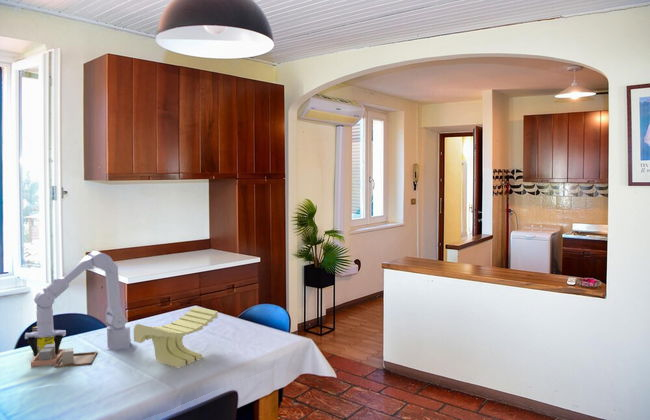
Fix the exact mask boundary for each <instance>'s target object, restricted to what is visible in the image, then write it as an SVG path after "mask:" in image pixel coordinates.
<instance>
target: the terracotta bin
mask: <svg viewBox="0 0 650 420" xmlns="http://www.w3.org/2000/svg"><path fill="white" fill-rule="evenodd" d="M62 349H63V348H59V352H58V354H57V356H56V357H55V358H54V359H53V360H43V361H39V352H38V354H37V356H34V358H33V359H31V361H30V367H31V368H32V367H34V368H35V367H44V366H55V365H56V364H57V363H58V361H59V360H60V359H61V357H62Z"/></svg>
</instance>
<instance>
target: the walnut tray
mask: <svg viewBox="0 0 650 420" xmlns="http://www.w3.org/2000/svg"><path fill="white" fill-rule="evenodd" d="M73 355H74V363H71V364H65V365H63V364H62V357H61V359H60V360H59V361H58V363H57V364H56V365H54V369H55V368H56V369H57V368H66V367H77V366H78V367H79V366H90V365H93V362H94V360H95V358H96V357H97V355H98V351H87V352H75V353H74V352H73Z"/></svg>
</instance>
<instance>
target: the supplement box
mask: <svg viewBox="0 0 650 420" xmlns="http://www.w3.org/2000/svg"><path fill="white" fill-rule="evenodd" d="M53 329H54V330H55V327H54V324H53ZM31 330H32V332H37V325H36V326H33V327H31ZM54 338H55V336H52V337H39V338H38V340H37V349H38V353H39V351H40V350H41V349H43V347H44V346H45V345H46V344H55V342H54Z"/></svg>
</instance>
